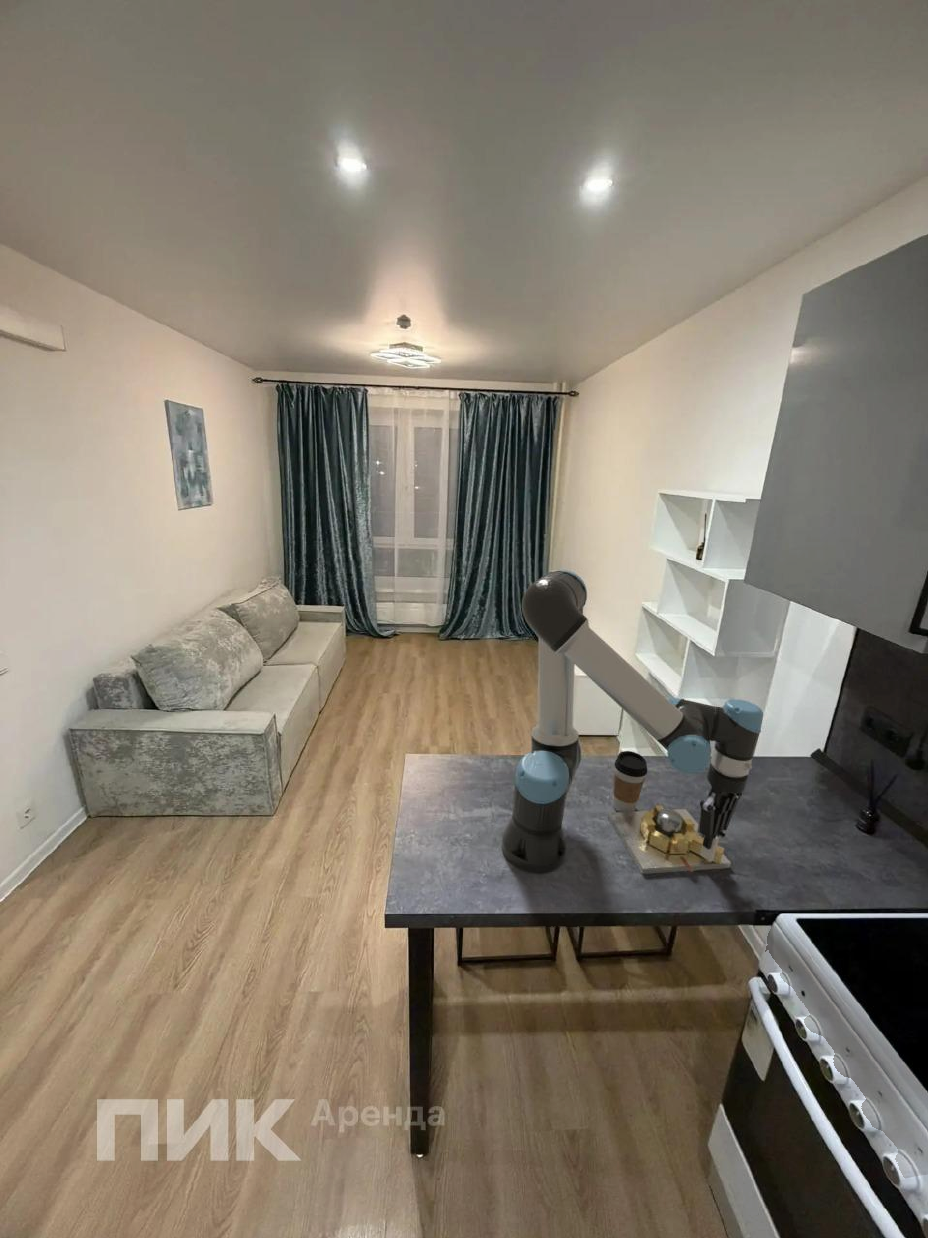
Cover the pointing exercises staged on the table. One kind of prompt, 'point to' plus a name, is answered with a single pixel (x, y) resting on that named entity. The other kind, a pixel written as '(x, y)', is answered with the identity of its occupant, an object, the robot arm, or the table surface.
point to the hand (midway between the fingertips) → (706, 857)
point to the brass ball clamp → (674, 836)
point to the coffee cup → (628, 780)
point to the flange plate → (652, 857)
